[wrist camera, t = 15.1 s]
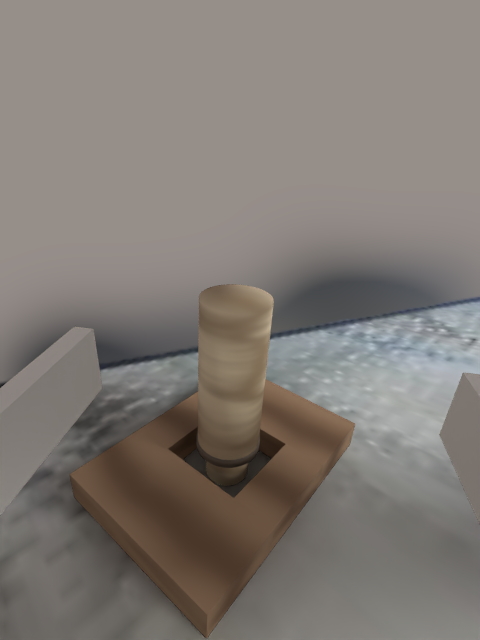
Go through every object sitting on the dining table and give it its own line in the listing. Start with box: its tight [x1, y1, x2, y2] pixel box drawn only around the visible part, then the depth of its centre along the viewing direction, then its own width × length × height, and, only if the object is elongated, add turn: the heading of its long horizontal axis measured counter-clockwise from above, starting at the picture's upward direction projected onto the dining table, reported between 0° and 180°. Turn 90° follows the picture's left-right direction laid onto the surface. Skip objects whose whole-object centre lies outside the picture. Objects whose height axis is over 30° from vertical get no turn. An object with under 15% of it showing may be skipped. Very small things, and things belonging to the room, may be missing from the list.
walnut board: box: [70, 379, 355, 638], centre depth 32 cm, size 20×14×2 cm
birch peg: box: [196, 284, 274, 486], centre depth 28 cm, size 5×5×16 cm
